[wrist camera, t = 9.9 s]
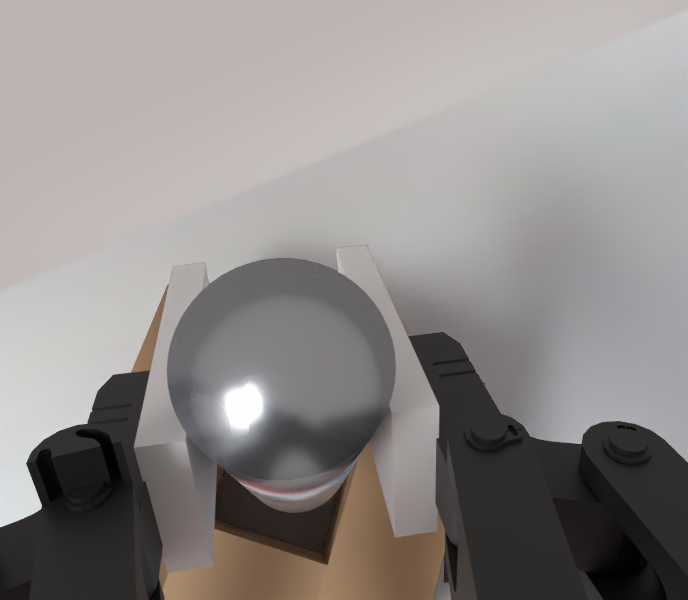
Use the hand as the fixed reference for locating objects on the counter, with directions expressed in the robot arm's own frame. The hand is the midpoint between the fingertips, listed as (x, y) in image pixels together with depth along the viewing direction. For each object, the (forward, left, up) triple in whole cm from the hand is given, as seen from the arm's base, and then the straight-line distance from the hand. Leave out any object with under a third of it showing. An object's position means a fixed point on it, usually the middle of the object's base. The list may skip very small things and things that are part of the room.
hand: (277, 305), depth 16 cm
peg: (+2, -3, -5) cm, 6 cm away
